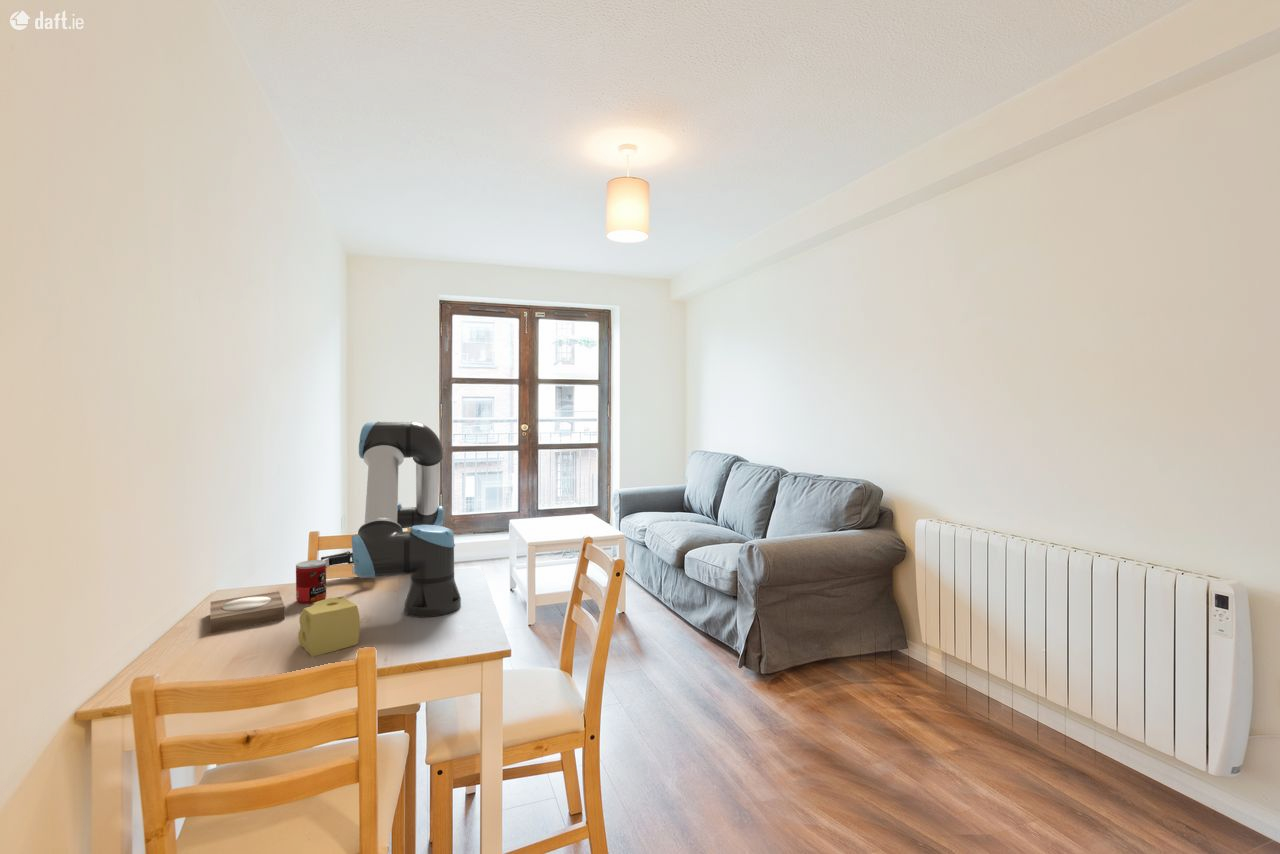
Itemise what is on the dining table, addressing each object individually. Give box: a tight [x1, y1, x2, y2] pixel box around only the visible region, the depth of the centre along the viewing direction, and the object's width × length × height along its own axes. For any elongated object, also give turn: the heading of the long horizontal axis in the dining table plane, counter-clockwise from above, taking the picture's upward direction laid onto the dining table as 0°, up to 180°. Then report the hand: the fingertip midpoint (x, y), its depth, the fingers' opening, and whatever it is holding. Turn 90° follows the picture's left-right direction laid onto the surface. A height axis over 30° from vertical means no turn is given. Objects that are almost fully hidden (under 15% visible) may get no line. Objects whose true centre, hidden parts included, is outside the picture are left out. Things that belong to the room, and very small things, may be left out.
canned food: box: [295, 559, 327, 605], centre depth 172 cm, size 8×8×11 cm
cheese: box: [297, 595, 361, 658], centre depth 139 cm, size 10×11×10 cm
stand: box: [209, 591, 286, 633], centre depth 158 cm, size 16×16×4 cm
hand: (333, 569), depth 181 cm, fingers open, 13 cm apart
